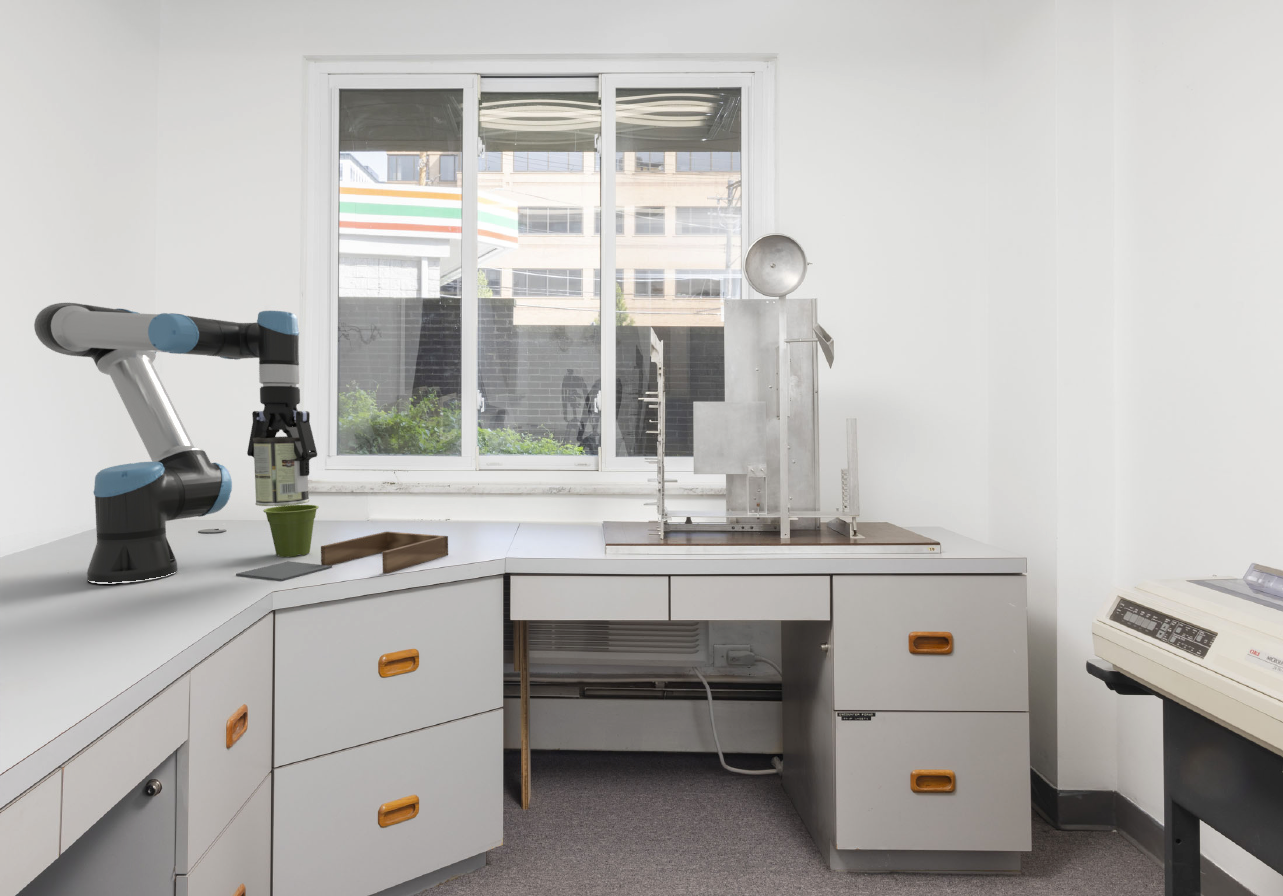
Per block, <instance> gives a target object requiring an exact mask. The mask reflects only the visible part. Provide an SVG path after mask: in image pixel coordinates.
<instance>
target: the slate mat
mask: <svg viewBox="0 0 1283 896" xmlns="http://www.w3.org/2000/svg"><path fill="white" fill-rule="evenodd" d="M332 568H333V565H331V566H329V565H321V564H318V563H307V562H298V561H297V562H296V561H288V560H287V561H283V562H280V563H279V562H278V563H276V564H271V565H270V564H269V565H267V566H262V567H258V568H253V569H250V570H245V571H241V572H237V573H235V576H238V577H245V578H254V579H263V580H272V581H278V582H283V581H287V580H291V579H295V578H298V577H301V576H305V575H309V574H313V573H317V572H321V571H324V570H329V569H332Z"/></svg>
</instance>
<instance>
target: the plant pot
mask: <svg viewBox="0 0 1283 896" xmlns="http://www.w3.org/2000/svg"><path fill="white" fill-rule="evenodd" d="M318 509H319V505H315V504H296V505H286V506H270V507H268V508H267V507H266V508H265V509H263V510H262V511H263V512H264V513H265V514H266V519H267V522H268V524H269V528H270V533H271V535H272V541H273V546H274V551H275V555H276V556H278V557H281V558H295V557H297V556H300V555H301V556H305V555H308V554H309V553H310V552H311V544H312V537H313V530H314V524H315V519H316V514H317V510H318Z"/></svg>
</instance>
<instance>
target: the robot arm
mask: <svg viewBox="0 0 1283 896" xmlns="http://www.w3.org/2000/svg"><path fill="white" fill-rule="evenodd" d="M33 327H34V332H35V335H36V336H37V338H38V340H39V341H40V342H41V344H42V345H44V346H45V347H46V348H48V349H50V350H52V351H53V352H55V353H59V354H61V355H65V356H71V357H72V356H73V357H83V358H91V359H92V360H93V362H94V364H95V366H96V368H97V370H98V371H99V372H100V373H102V374H105V375H107V376H108V375H109V376H110V379H111V380H112V382H113V384H114V386H115V388H116V390H117V393H118V394H119V395H118V396H119V397H120V398H121V401H122V402H123V405H124V407H125V409H126V411H127V413H128V415H129V416H130V419H131V421H132V423H133V425H134V427H135V429H136V431H137V433H138V435H139V437H140V439H141V440H142V443H143V445H144V447H145V449H146V451H147V454H148V455H149V458H150V460H151V461H140V462H133V463H124V464H119V465H114V466H109V467H107V468H102V469H101V470H99V472H97V473H96V475H95V477H94V486H93V487H94V489H93V495H94V504H95V505H94V507H95V525H96V527H95V528H96V544H95V547H94V550H93V554H92V557H91V559H90V562H89V565H88V568H87V572H86V573H87V574H86V575H87V581H88V580H89V581H95V582H108V583H112V582H122V581H136V580H145V579H149V578H156V577H161V576H166V575H168V574H171V573H174V572H176V571H177V572H178V562H177V558H176V556H175V554H174V551H173V549H172V548H171V546H170V545H171V544H170V543H169V541H168V539H167V534H166V533H167V531H166V530H167V529H166V522H167V521H175V520H183V519H190V518H196V517H197V518H199V517H204V516H207V515H211V514H215V513H218V512H220V511H221V510H223V508H224V507H225V506H226V505H227V504H228V502H229V500H230V498H231V493H232V491H233V490H232V489H233V481H232V477H231V474H230V471H229V470H228V469H227V467H226V466H224V465H223V464H220V463H217V462H211V460H210V458H209V457H208V454H207V453H206V450H204V449H203V448H198V447H195V445H194V444H193V442H192V440H191V438H190V436H189V434H188V432H187V429H186V428H185V426H184V423H183V422H182V420H181V418H180V416H179V414H178V412H177V410H176V407H175V405H174V404H173V402H172V400H171V398H170V396H169V394H168V392H167V390H166V388H165V386H164V384H163V382H162V380H161V378H160V376H159V374H158V372H157V371H156V369H155V366H154V364H153V363H154V361H155V360H156V356H157V353H168V354H175V355H176V354H178V355H181V354H182V355H195V356H196V355H197V356H198V355H199V356H209V357H219V358H221V359H225V360H226V359H227V360H236V361H237V360H238V361H239V360H241V359H259V360H258V364H259V365H258V373H259V374H258V376H259V377H258V379H259V383H260V384H261V385H262V386H260V388H259V402H260V404H262V405H263V406H264V408H263V410H254V411H252V413H251V414H252V424H251V431H250V436H249V441H248V445H247V447H248V448H247V451H246V453H247V456H249V457H253V458H254V442H253V438H257V437H261V438H275V437H277V434H278V433H279V432H280V431H282V433H284V434H285V435H286V437H288V438H293V437H299V438H300V441H294V453H295V455H296V457H297V458H296V459H295V461H294V475H295V492H304V491H308V492H309V477H308V476H310V460H311V459H313V458H317V456H318V451H317V448H316V443H315V440H314V436H313V431H312V428H311V422H310V417H311V415H310V411H307V410H298V408H297V407H298V405H299V404H300V403H301V390H300V387H299V386H297V385H299V384H300V363H299V362H300V357H299V356H300V355H299V354H300V353H299V351H300V350H299V347H300V346H299V344H300V343H299V338H300V332H299V325H298V317H297V315H296V314H294V313H292V312H289V311H284V310H283V311H281V310H262V311H259V312H258V314H257V320H256V322H235V321H227V320H221V319H213V318H204V317H197V316H192V315H185V314H183V313H182V314H181V313H176V312H175V313H171V312H170V313H167V312H166V313H165V312H162V313H158V314H156V313H141V312H137V311H133V310H132V311H131V310H129V309H126V308H112V307H111V308H110V307H104V306H97V305H89V304H82V303H76V302H75V303H74V302H58V303H54V304H50V305H48V306H46V307H44V308H42V309H41V310H40V311H39V312H38V314H37V315H36V317H35V319H34V324H33ZM177 572H176V573H177Z"/></svg>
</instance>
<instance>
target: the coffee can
mask: <svg viewBox="0 0 1283 896" xmlns="http://www.w3.org/2000/svg"><path fill="white" fill-rule="evenodd" d="M294 441H300V438H299V437H293V438H288V437H287V435H286V436H275V438H261V437H257V438H253V442H254V457H253V460H254V462H253V463H254V485H255V486H254V487H255V505H256V506H259V507H278V506H287V505H304V504H307V503H309V502H310V499H309V498H310V497H309V490H308V491H304V492H295V475H294V461H295V459H296V458H297V457H296V455H295V453H294Z"/></svg>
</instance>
